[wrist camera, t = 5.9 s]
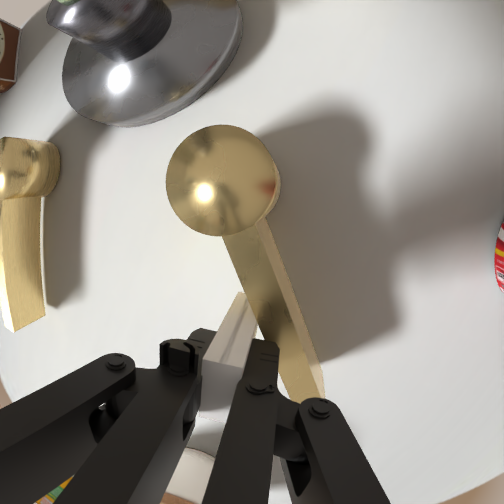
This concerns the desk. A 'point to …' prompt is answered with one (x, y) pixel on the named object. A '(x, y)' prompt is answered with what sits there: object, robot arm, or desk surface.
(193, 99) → the base
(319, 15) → the desk surface
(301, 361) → the gold lever handle
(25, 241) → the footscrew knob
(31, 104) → the desk surface
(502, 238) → the soda can
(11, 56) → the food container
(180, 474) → the lidded jar
